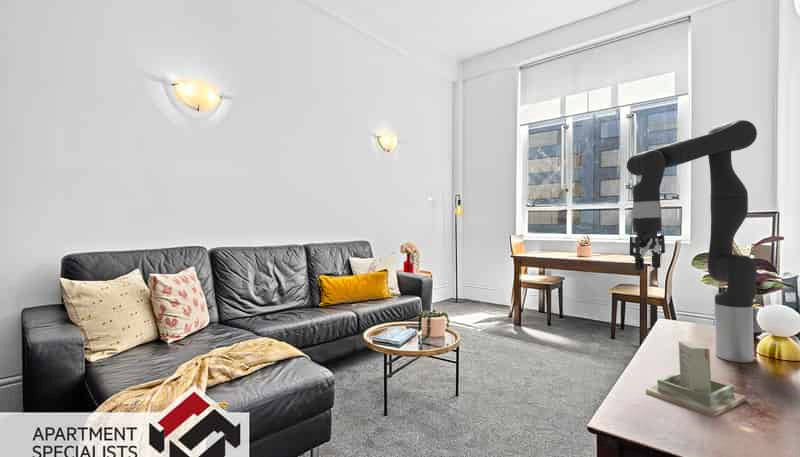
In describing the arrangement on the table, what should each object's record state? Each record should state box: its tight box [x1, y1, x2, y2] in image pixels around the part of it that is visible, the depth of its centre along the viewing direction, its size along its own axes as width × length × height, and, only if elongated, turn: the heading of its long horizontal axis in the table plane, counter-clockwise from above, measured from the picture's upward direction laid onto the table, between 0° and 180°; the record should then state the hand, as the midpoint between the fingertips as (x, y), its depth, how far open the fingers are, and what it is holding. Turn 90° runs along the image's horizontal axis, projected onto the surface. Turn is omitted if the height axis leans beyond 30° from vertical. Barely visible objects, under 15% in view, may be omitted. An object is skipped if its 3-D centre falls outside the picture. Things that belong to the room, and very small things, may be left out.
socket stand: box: [645, 371, 747, 418], centre depth 100 cm, size 16×15×4 cm
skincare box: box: [678, 341, 712, 395], centre depth 100 cm, size 6×4×12 cm
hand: (648, 268), depth 121 cm, fingers open, 8 cm apart
